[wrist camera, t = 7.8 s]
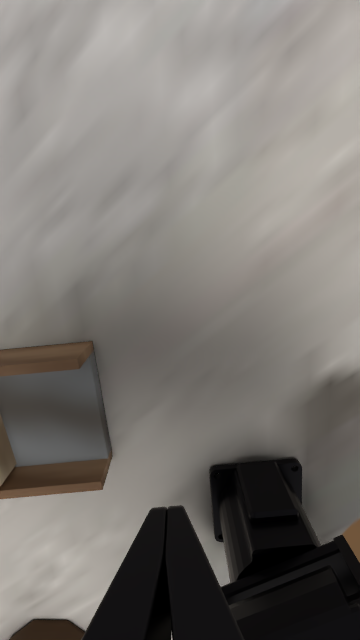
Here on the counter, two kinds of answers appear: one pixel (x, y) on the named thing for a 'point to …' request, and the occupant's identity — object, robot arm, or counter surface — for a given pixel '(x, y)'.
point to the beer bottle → (49, 631)
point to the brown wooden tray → (53, 420)
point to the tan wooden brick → (5, 454)
